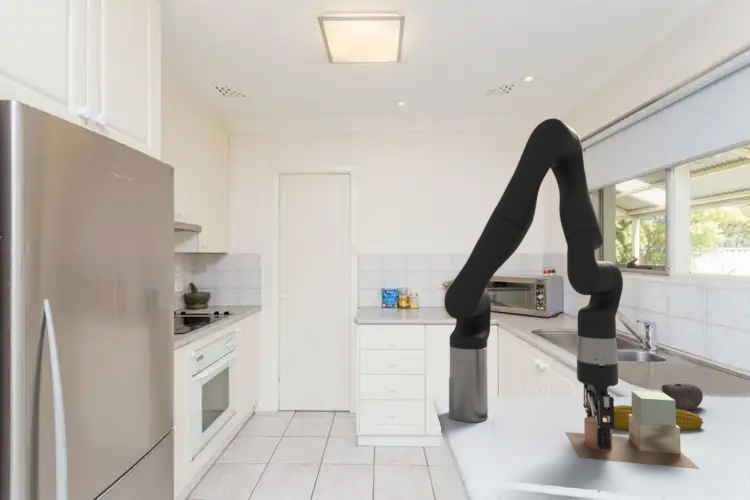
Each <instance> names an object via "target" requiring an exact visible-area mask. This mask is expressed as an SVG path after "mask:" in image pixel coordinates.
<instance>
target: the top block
mask: <svg viewBox="0 0 750 500" xmlns="http://www.w3.org/2000/svg"><path fill="white" fill-rule="evenodd" d="M631 406H632V415H633V416H634V417H635V418H636V419H637V420H638V421H639V422H640V423H641V424H648V425H661V426H675V427H676V407H675V400H674V399H672V398H671V397H669V396H668V395H666V394H665V393H662V392H659V391H657V392H656V391H641V390H631Z"/></svg>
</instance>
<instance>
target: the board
mask: <svg viewBox="0 0 750 500" xmlns="http://www.w3.org/2000/svg"><path fill="white" fill-rule="evenodd" d="M565 434H566V436H567V438H568V441H569V442H570V443H571V446H572V447H573V449H574V451H575V453H576V454H577V457H578V458H579V459H589V460H591V459H592V460H599V461H600V460H601V461H610V462H611V461H612V462H623V463H634V464H643V465H654V466H655V465H656V466H664V467H665V466H666V467H674V468H675V467H677V468H687V469H700V468H699V467H698V466H697V464H695V463H694V462H693V461H692V460H691V459H690V458H688V457H687V456H686V455H685V454H684V453H683V452H681V454H674V453H662V452H651V451H640V450H639V448H638V447H637V446H636V445H635V444H634V443H633V442H632V441H631V439H630V438H629V436H619V435H612V450H610V451H599V450H594V449H591V448H588V447H587V446H585V433H583V432H582V433H580V432H570V431H569V432H568V431H567V432H566V431H565Z"/></svg>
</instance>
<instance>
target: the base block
mask: <svg viewBox="0 0 750 500" xmlns="http://www.w3.org/2000/svg"><path fill="white" fill-rule="evenodd" d="M628 437H629V438H630V439H631V441H632V442H633V443H634V444H635V445H636V446H637V447H638V448H639V450H640V451H651V452H662V453H674V454H681V430H680V427H678V426H677V425H676V427H675V426H661V425H648V424H641V423H640V422H639V421H638V420H637V419H636V418H635V417H634V416H633V415H632V414H629V430H628Z"/></svg>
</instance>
